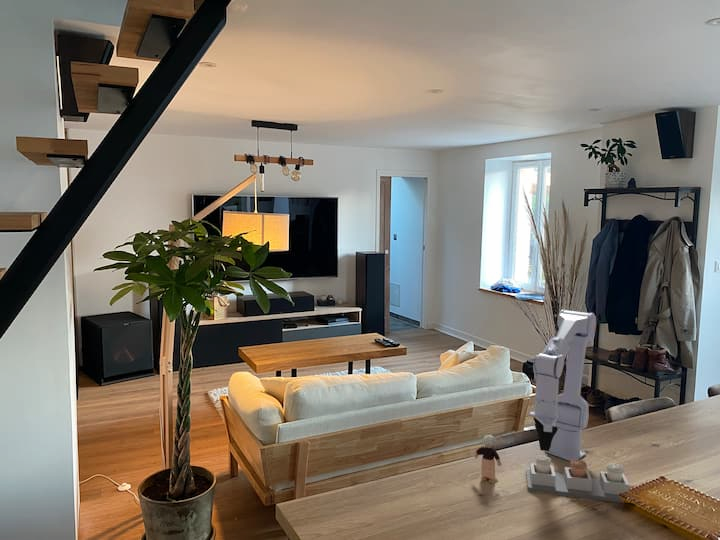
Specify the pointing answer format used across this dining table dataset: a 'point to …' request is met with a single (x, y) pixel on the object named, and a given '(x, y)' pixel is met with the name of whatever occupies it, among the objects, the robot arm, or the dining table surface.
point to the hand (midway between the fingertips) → (543, 447)
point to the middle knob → (578, 468)
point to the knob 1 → (543, 464)
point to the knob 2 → (614, 472)
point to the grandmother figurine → (488, 459)
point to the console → (576, 484)
